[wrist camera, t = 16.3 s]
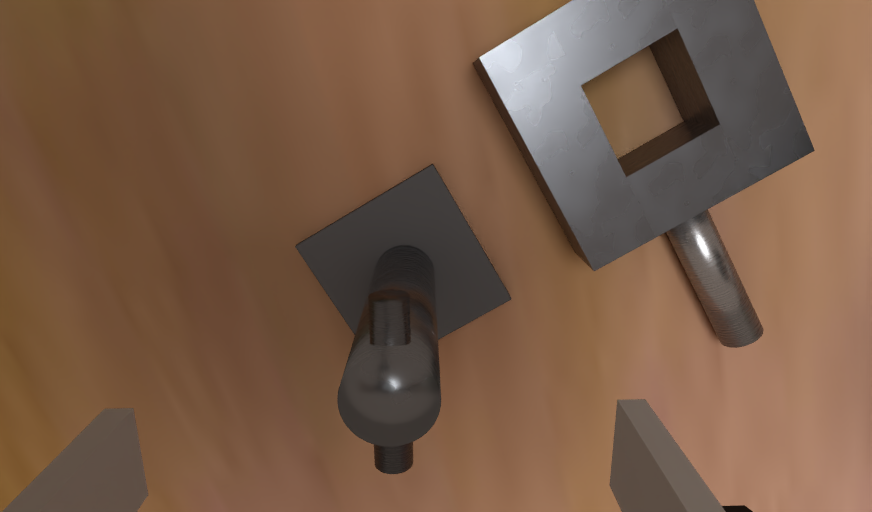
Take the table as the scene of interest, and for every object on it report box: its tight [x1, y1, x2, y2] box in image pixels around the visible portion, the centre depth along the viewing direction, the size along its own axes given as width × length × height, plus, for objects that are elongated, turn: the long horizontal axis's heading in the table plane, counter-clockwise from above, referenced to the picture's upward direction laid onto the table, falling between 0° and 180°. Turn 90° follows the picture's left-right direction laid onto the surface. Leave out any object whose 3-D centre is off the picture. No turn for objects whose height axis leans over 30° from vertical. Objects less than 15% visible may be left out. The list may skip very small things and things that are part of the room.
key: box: [338, 245, 441, 474], centre depth 26 cm, size 3×6×14 cm, turn 0°
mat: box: [295, 164, 511, 339], centre depth 33 cm, size 9×9×1 cm
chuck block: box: [473, 0, 815, 347], centre depth 30 cm, size 21×12×4 cm, turn 30°
